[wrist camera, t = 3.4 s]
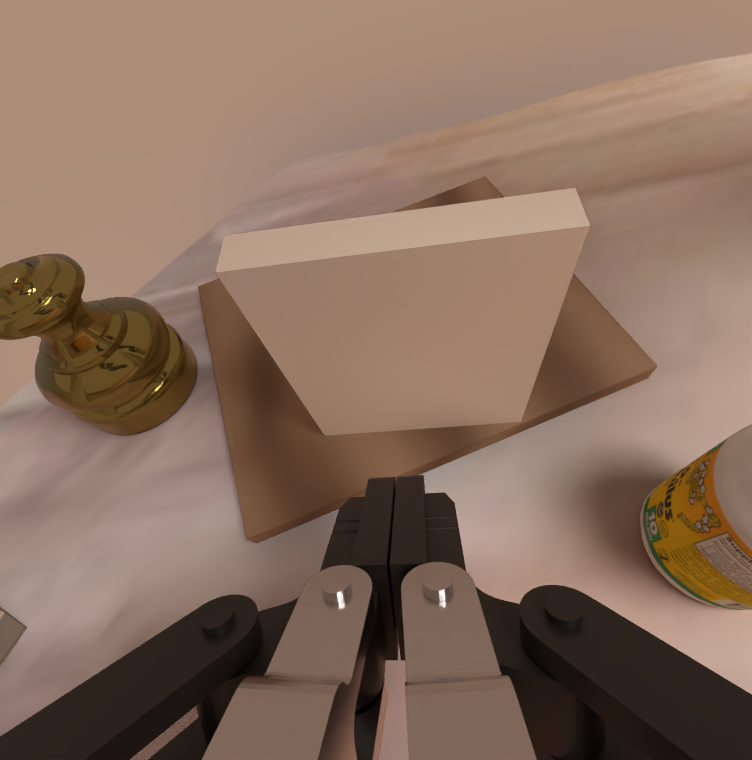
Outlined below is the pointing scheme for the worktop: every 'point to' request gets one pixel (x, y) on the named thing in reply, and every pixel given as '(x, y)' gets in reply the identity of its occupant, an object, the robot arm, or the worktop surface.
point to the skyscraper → (9, 633)
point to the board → (390, 448)
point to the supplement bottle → (706, 525)
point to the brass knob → (95, 347)
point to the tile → (411, 308)
